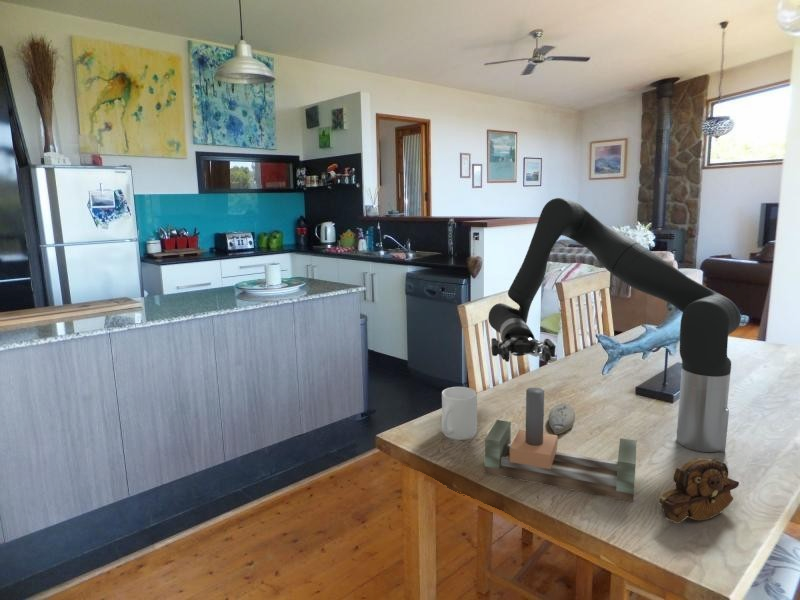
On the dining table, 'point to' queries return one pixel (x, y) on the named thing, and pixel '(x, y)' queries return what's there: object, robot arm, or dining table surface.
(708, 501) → the wooden carving
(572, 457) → the rail bed
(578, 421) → the dining table surface
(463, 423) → the mug
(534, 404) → the carriage
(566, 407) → the decorative stone
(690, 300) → the robot arm
